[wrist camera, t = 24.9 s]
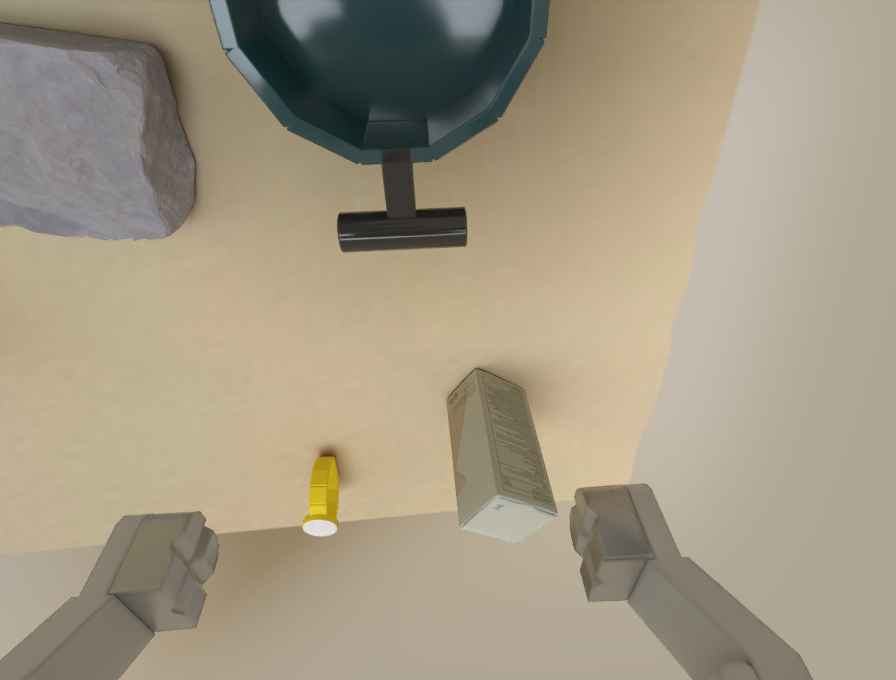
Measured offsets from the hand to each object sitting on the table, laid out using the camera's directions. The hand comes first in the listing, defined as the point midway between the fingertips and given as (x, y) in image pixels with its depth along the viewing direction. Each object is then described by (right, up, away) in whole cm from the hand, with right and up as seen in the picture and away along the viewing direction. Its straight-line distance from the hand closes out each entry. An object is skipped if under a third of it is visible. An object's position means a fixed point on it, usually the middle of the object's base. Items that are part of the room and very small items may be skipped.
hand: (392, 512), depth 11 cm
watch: (-9, -7, +33) cm, 35 cm away
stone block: (-18, +15, +14) cm, 27 cm away
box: (+4, 0, +28) cm, 29 cm away
